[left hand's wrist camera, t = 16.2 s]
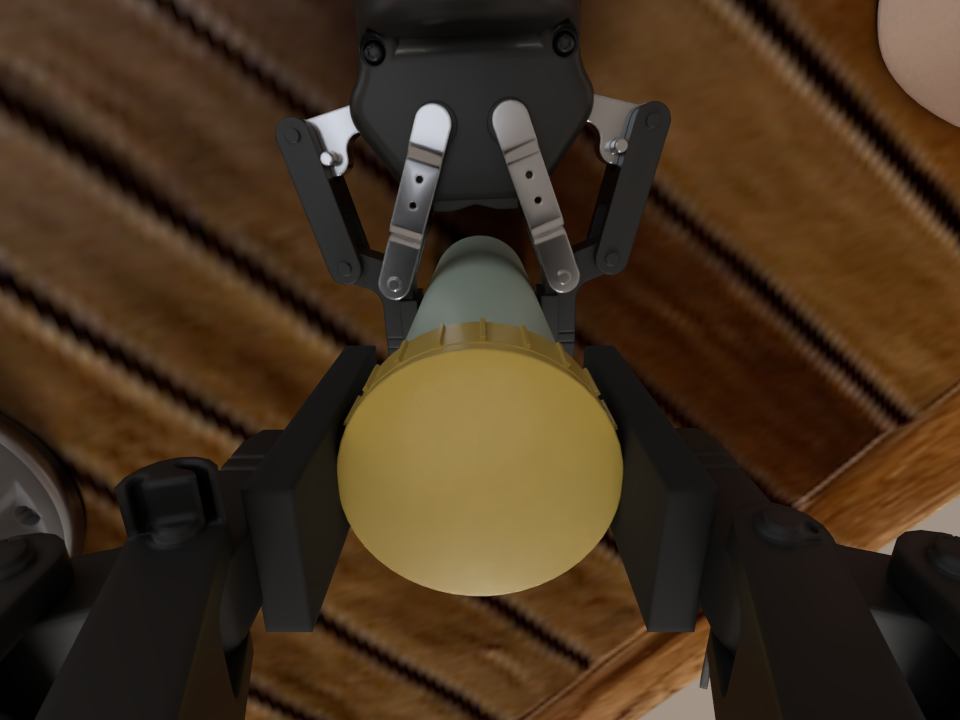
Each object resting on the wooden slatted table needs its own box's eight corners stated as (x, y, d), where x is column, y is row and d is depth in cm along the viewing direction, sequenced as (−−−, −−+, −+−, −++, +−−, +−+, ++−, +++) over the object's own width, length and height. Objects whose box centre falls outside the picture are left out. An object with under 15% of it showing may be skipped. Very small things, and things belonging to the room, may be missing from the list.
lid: (611, 309, 11) (635, 336, 9) (604, 538, 13) (622, 593, 11) (335, 324, 11) (309, 353, 9) (370, 548, 13) (354, 605, 11)
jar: (538, 305, 28) (626, 518, 11) (456, 337, 29) (422, 585, 12) (505, 220, 27) (550, 318, 10) (419, 256, 27) (321, 408, 10)
